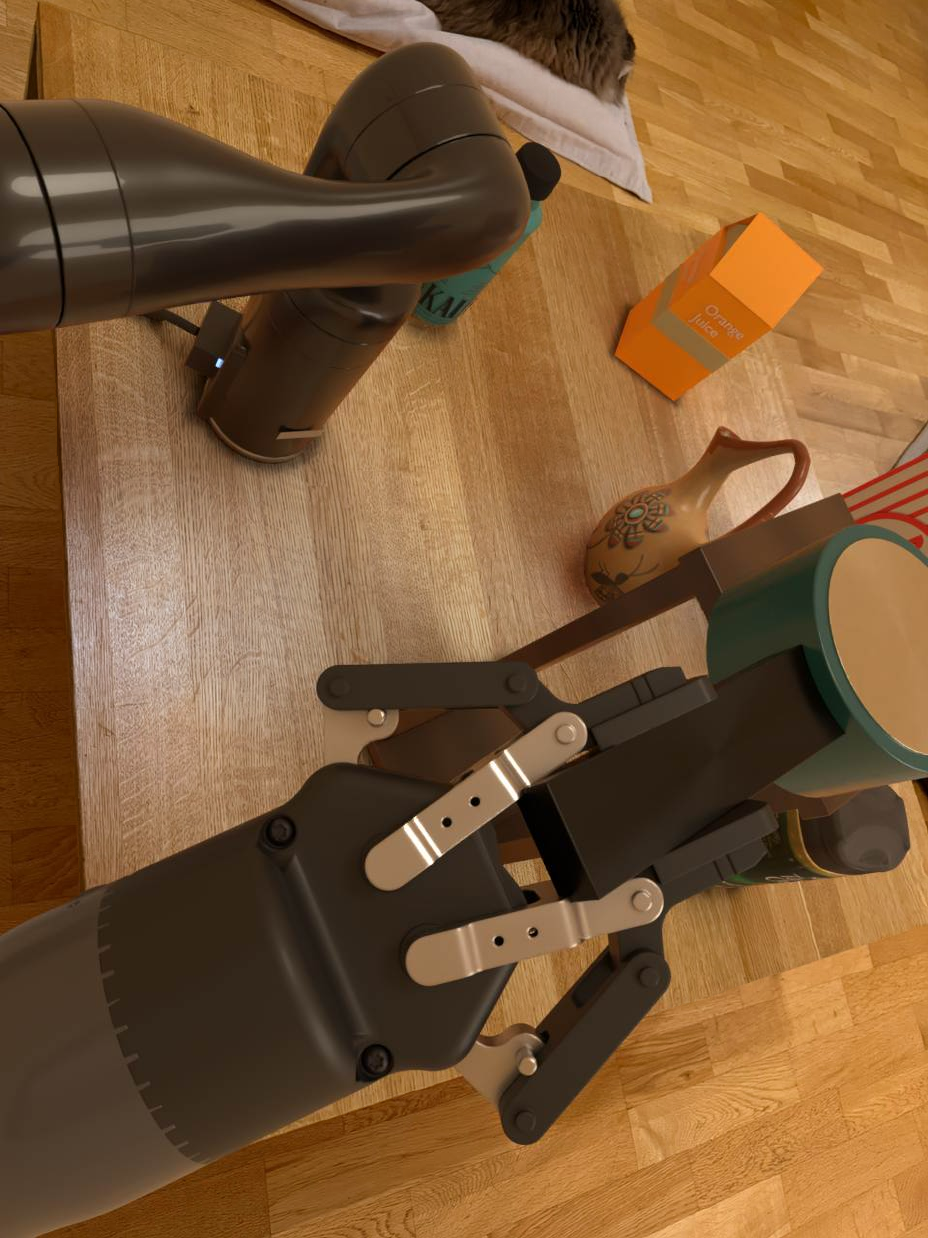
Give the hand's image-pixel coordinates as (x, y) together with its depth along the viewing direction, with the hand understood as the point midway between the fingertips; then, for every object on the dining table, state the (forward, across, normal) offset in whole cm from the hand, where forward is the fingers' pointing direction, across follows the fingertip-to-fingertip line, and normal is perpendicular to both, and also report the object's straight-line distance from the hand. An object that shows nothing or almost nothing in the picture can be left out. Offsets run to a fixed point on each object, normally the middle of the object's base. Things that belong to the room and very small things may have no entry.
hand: (730, 749), depth 27 cm
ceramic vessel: (+15, +11, +61) cm, 64 cm away
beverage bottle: (+9, +41, +58) cm, 72 cm away
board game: (+28, -2, +69) cm, 74 cm away
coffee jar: (+12, -16, +60) cm, 63 cm away
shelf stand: (-4, 0, +50) cm, 50 cm away
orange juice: (+33, +32, +72) cm, 86 cm away
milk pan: (+1, 0, +6) cm, 7 cm away
